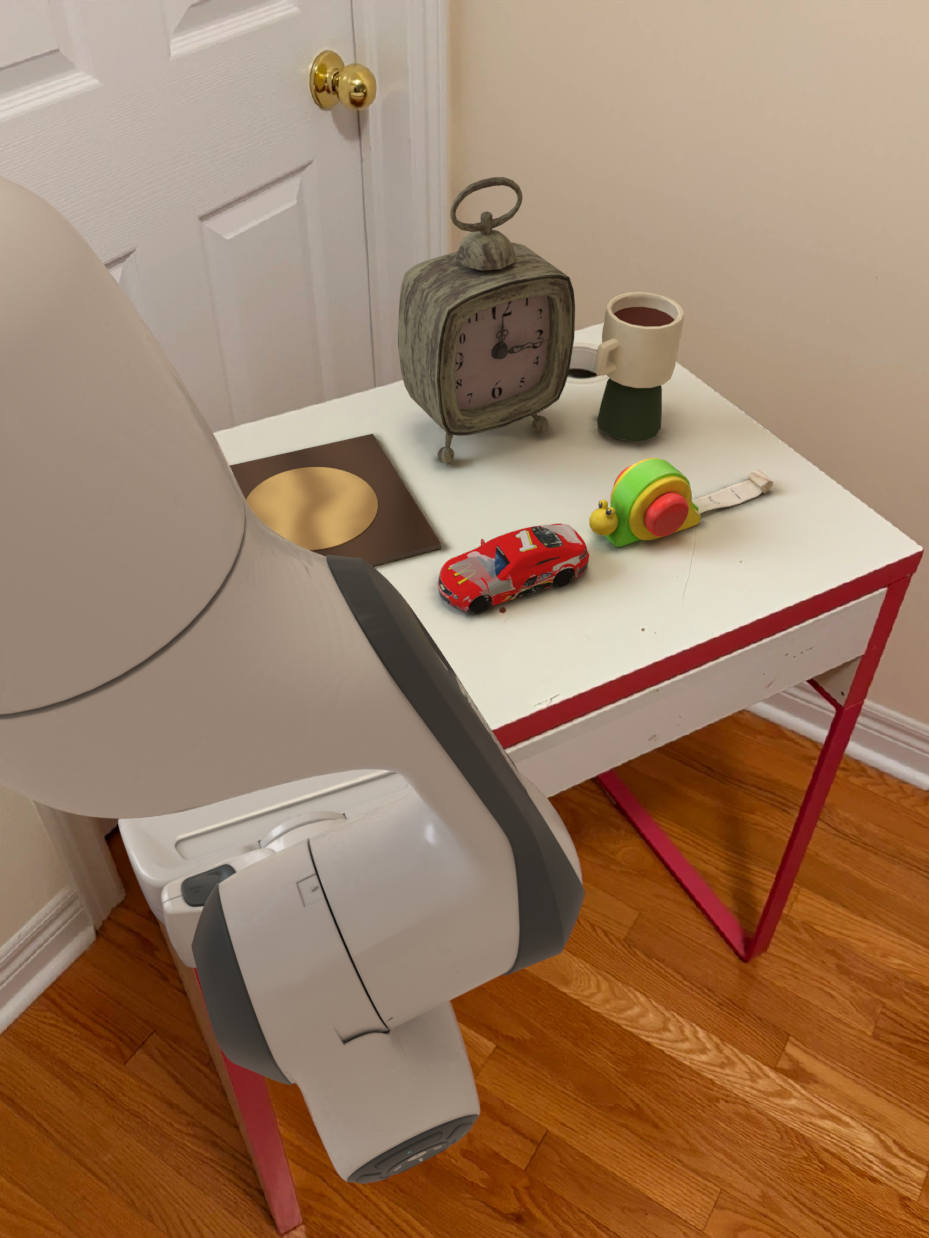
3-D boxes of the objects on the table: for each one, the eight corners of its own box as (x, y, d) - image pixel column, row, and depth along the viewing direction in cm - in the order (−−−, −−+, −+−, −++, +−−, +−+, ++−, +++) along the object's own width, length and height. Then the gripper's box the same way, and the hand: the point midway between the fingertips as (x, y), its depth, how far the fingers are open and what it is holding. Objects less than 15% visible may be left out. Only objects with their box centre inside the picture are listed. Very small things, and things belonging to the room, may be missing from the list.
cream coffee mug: (641, 396, 109) (658, 278, 100) (691, 427, 105) (715, 307, 96) (563, 432, 104) (574, 312, 95) (613, 466, 100) (629, 343, 91)
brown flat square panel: (237, 602, 86) (236, 595, 85) (190, 479, 98) (189, 473, 97) (441, 548, 91) (441, 542, 90) (373, 438, 103) (372, 432, 102)
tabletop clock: (437, 478, 98) (435, 215, 81) (392, 430, 104) (381, 175, 86) (565, 435, 104) (589, 180, 86) (516, 392, 109) (529, 144, 92)
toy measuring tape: (569, 526, 93) (575, 466, 89) (743, 468, 100) (757, 409, 95) (608, 568, 89) (617, 508, 85) (787, 505, 96) (804, 445, 91)
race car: (453, 624, 84) (453, 587, 82) (427, 582, 88) (426, 546, 85) (596, 579, 88) (601, 543, 85) (566, 541, 92) (569, 505, 89)
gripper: (485, 802, 62) (404, 647, 71) (135, 920, 56) (95, 734, 65) (483, 861, 66) (406, 708, 75) (157, 976, 61) (117, 795, 70)
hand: (260, 721), depth 70 cm, fingers open, 8 cm apart
